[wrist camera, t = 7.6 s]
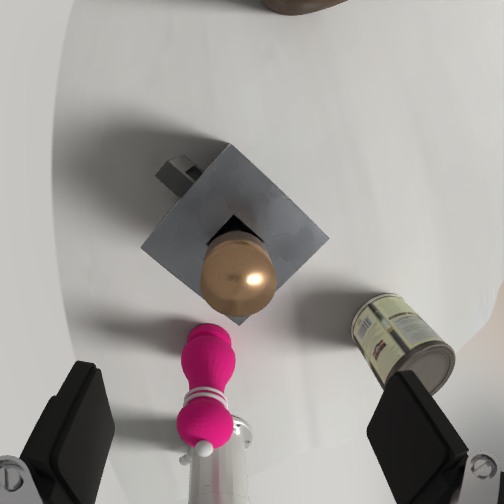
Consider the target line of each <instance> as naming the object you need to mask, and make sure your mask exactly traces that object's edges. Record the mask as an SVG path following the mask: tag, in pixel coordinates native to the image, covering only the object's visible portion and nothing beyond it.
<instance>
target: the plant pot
mask: <svg viewBox="0 0 504 504" xmlns="http://www.w3.org/2000/svg"><path fill="white" fill-rule="evenodd" d="M345 1H347V0H262V2H263V3H264V4H265V5H266V6H267V7H268V8H270V9H271V10H273V11H275V12H277V13H280V14H283V15H291V16H295V15H303V14H308V13H312V12H316V11H320V10H323V9H326V8H329V7H332V6H335V5H337V4H340V3H342V2H345Z"/></svg>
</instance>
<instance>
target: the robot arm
mask: <svg viewBox="0 0 504 504" xmlns="http://www.w3.org/2000/svg"><path fill="white" fill-rule="evenodd" d="M232 418H233V424H234V425H233V433H232V435H231V437H230V439H229V440H228V442H226V443H225V444H224V445H223V446H221V447H219V448H216V449H213V452H212V453H211V455H209V456H206V457H202V456H200V455H198V454H197V452H196V451H195V448H194V447H192V446H190V445H189V446H190V450H189V451H188V453H187V454H185V455H184V456H182V457H180V458H179V462H180V463H181V464H182V465H187V464H189V463H190V462H191V464H190V481H189V501H188V504H250V500H249V489H248V477H247V466H246V454H245V449H246V448H247V447H248V446H249V445H250V444H251V442H252V439H253V434H252V430H251V428H250V426H249V425H248V424H247V423H246V422H245V421H243V420H241V419H239V418H236V417H234V416H232ZM114 431H115V425H114V421H113V418H112V414H111V410H110V406H109V403H108V399H107V395H106V391H105V386H104V382H103V378H102V373H101V370H100V369H98V368H96V365H95V364H94V363H89V362H83V361H76V362H75V364H74V365H73V367H72V369H71V371H70V372H69V374H68V376H67V378H66V380H65V381H64V383H63V385H62V386H61V388H60V390H59V392H58V394H57V395H56V396H52V397H51V398H50V400H49V401H48V403H47V405H46V407H45V409H44V410H43V412H42V414H41V416H40V418H39V420H38V422H37V424H36V426H35V427H34V429H33V431H32V433H31V435H30V437H29V439H28V441H27V443H26V445H25V447H24V449H23V451H22V453H21V455H20V458H17V457H15V456H9V455H6V456H0V504H95V500H96V496H97V492H98V489H99V485H100V481H101V477H102V474H103V469H104V466H105V463H106V459H107V456H108V452H109V449H110V446H111V442H112V439H113V436H114ZM367 437H368V439H369V441H370V444H371V446H372V448H373V450H374V452H375V455H376V457H377V459H378V462H379V464H380V466H381V468H382V471H383V473H384V475H385V478H386V480H387V482H388V485H389V487H390V489H391V491H392V493H393V496H394V498H395V501H396V503H397V504H504V472H501V468H500V464H499V461H498V460H497V458H496V457H495V456H494V455H492V454H491V453H489V452H486V451H475V452H474V453H472V454H471V455H470V456H468V455H467V451H469V449H468V448H467V446H466V445H465V443H464V442H463V440H462V439H461V437H460V436H459V435H458V433H457V432H456V430H455V429H454V427H453V426H452V424H451V423H450V422H449V420H448V419H447V417H446V416H445V414H444V413H443V412H442V410H441V409H440V407H439V406H438V405H437V403H436V402H435V400H434V399H433V398H432V396H431V395H430V393H429V392H428V391H427V389H426V388H425V387H424V385H423V384H422V382H421V381H420V380H419V378H418V377H417V376H416V374H415V373H414V372H413V371H412V370H404V371H397V372H395V373H394V374H393V376H391V377H390V378H389V380H388V382H387V385H386V387H385V390H384V392H383V394H382V397H381V399H380V401H379V403H378V406H377V408H376V410H375V412H374V414H373V416H372V419H371V421H370V423H369V425H368V427H367Z"/></svg>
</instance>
